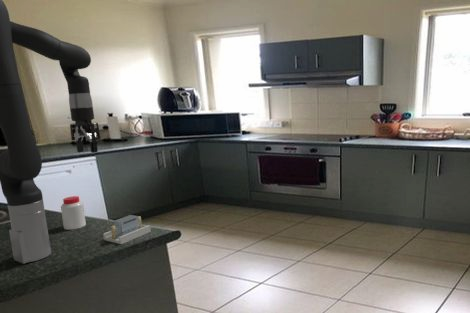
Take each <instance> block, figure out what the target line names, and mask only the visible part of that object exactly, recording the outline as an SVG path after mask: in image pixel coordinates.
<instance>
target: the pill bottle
mask: <svg viewBox="0 0 470 313" xmlns="http://www.w3.org/2000/svg"><path fill="white" fill-rule="evenodd" d="M62 200H63V204H61V206H60V211H61V218H62V224H63V229H64V230H66V231H67V230H68V231H69V230H71V231H72V230H78V229H80V228H83V227H84V226H86V225H87V222H86V215H85V207H84V203H83V201H81V200H80V197H79V195H78V196H76V195H75V196H69V197H64V198H63V199H62Z"/></svg>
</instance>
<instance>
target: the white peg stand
mask: <svg viewBox="0 0 470 313" xmlns="http://www.w3.org/2000/svg"><path fill="white" fill-rule="evenodd" d="M137 216H138V215H137ZM138 219H139V228H140V229H138V230H135V231H133V232H130V233H128V234H125V235H123V236H116V229H115V226H114V225H111V226H110V230H109V231H107V232H103V241H106V242H110V243H113V244H118V245H123V244H126V243H128V242H130V241H133V240H134V239H137V238H140V237H142V236H144V235H147V234H148V233H151V232H152V228H151V225H150V224H148V225H145V226H142V225H143V224H142V217H141V216H138Z"/></svg>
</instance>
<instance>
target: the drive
mask: <svg viewBox="0 0 470 313" xmlns="http://www.w3.org/2000/svg"><path fill="white" fill-rule="evenodd" d="M113 226H115V229H116V236H123V235H125V234H128V233H130V232H133V231H135V230H138V229H140V228H139V219H138V215H134V214H133V215H132V214H129V215H126V216H123V217H121V218H118V219H115V220H113Z"/></svg>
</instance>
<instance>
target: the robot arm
mask: <svg viewBox="0 0 470 313" xmlns="http://www.w3.org/2000/svg"><path fill="white" fill-rule="evenodd" d="M13 44H14V45H17V46H20V47H23V48H25V49H28V50H29V51H33V52H34V53H36V54H38V55H41V56H42V57H45V58H47V59H50V60H52V61H58V63H59V66H60V67H59V68H60V69H61V71H62V73H63V77H64V79H65V82H66V83H67V89H68V90H67V91H68V104H69V111H70V116H71V118H70V119H71V121H72V122H75V123H71V124H70V125H69V129H70V138H71V140H72V141H74V143H75V145H76V150H77V151H76V152H77V153H83V152H85V151H84V150H85V149H84V143H83V140H84V137H85V138H87V139H88V140H89V146H90V147H89V148H90V152H91V153H92V154H94V153H98V152H99V151H98V144H97V142H98V141H99V140H101V132H100V126H99V123H98V122H92V120H94V119H95V113H94V107H93V105H94V104H93V100H92V95H91V90H90V89H91V88H90V81H89V79H88V78H87V77H86V76H82V75H80V73H79V70H83V69H86V68H88V67H89V66H90V65H91V62H92V58H91V55H90V54H89V52H88V51H87V50H86V49H85V48H84V47H82V46H80V45H76V44H73V43H70V42H68V41H63V40H60V39H59V38H57V37H55V36H54V35H51V34H49V33H47V32H45V31H43V30H40V29H37V28H35V27H31V26H27V25H24V24H21V23H20V24H19V23H16V22H14V21H11V19H10V14H9V10H8V8H7V6H6V4H5V2H4V1H3V0H0V128H1V130H2V132H3V135H4V137H5V142H6V146H7V149H5V151H4V150H3V151H2V153H1V154H0V187H1V191H2V195H3V196H4V198H5V200H6V204H7V209H8V216H9V220H10V221H9V222H10V228H11V229H9V230H8V233H9V237H10V238H9V239H10V243H11V245H10V246H11V249H12V255H13V260H14V261H15V262H18V263H20V264H23V265H24V264H26V263H31V262H35V261H40V260H43V259H44V258H47V257H49V256H50V255H51V254H52V248H51V242H50V237H49V231H48V222H47V217H46V211H45V204H44V198H43V192H42V190H41V188H39V186H37V184H36V182H35V180H34V179H35V178H37V177H38V176H39V174H40V172H41V171H42V166H43V162H42V156H41V153H40V150H39V148H38V145H37V142H36V139H35V136H34V133H33V129H32V126H31V122H30V118H29V113H28V109H27V104H26V99H25V95H24V90H23V86H22V81H21V79H20V74H19V71H18V65H17V60H16V55H15V50H14V45H13Z"/></svg>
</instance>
